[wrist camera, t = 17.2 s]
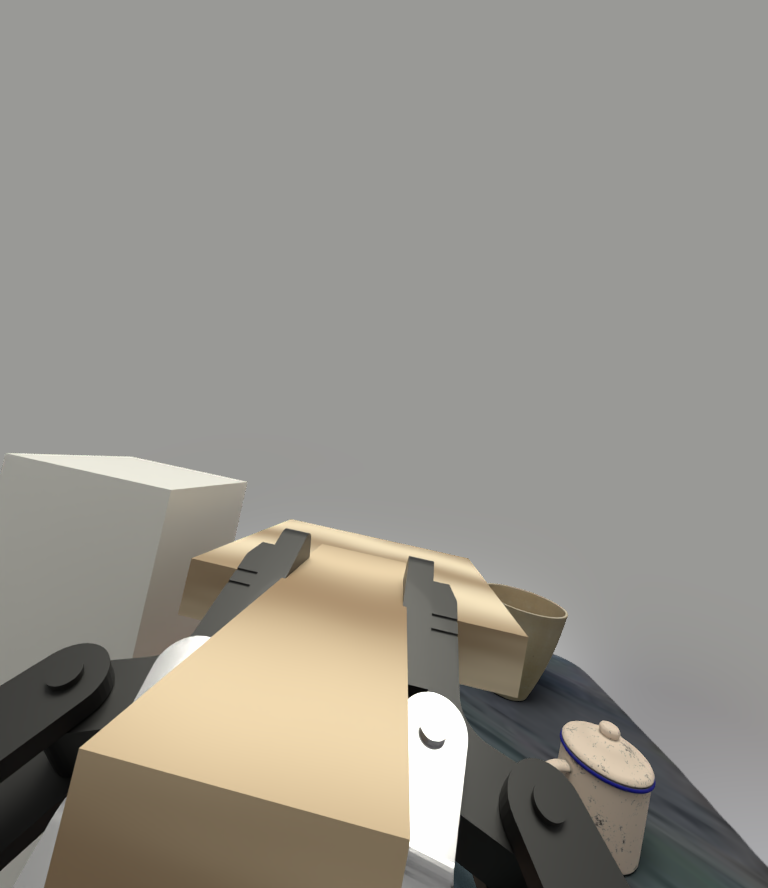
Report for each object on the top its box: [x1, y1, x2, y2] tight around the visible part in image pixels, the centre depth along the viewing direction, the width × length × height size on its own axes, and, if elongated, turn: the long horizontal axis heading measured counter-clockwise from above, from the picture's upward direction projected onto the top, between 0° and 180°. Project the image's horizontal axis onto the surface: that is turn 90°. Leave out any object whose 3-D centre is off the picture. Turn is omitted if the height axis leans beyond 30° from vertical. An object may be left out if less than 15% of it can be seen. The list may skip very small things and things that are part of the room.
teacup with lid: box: [546, 721, 655, 875], centre depth 41 cm, size 12×9×12 cm
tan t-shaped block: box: [44, 519, 528, 888], centre depth 14 cm, size 22×12×4 cm, turn 177°
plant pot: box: [487, 583, 568, 701], centre depth 68 cm, size 15×15×16 cm
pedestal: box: [0, 453, 247, 888], centre depth 20 cm, size 10×10×32 cm
